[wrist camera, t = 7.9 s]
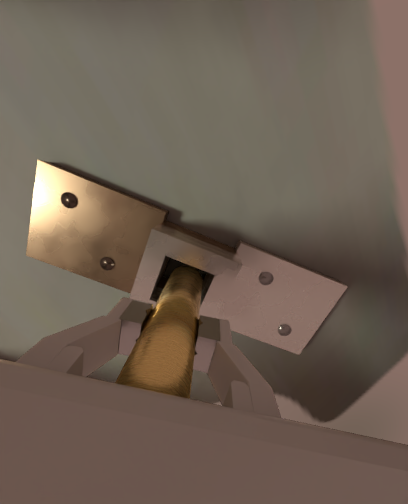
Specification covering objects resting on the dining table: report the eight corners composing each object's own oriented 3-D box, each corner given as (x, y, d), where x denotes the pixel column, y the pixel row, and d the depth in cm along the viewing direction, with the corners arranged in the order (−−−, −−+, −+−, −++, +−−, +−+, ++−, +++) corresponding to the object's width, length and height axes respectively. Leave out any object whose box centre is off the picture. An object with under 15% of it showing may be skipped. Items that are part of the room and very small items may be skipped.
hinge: (340, 281, 17) (377, 306, 13) (294, 347, 19) (315, 384, 16) (48, 162, 15) (-7, 151, 11) (36, 251, 17) (-14, 268, 13)
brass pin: (198, 298, 14) (177, 457, 6) (167, 291, 14) (98, 441, 6) (205, 269, 14) (194, 402, 5) (173, 261, 13) (103, 382, 5)
